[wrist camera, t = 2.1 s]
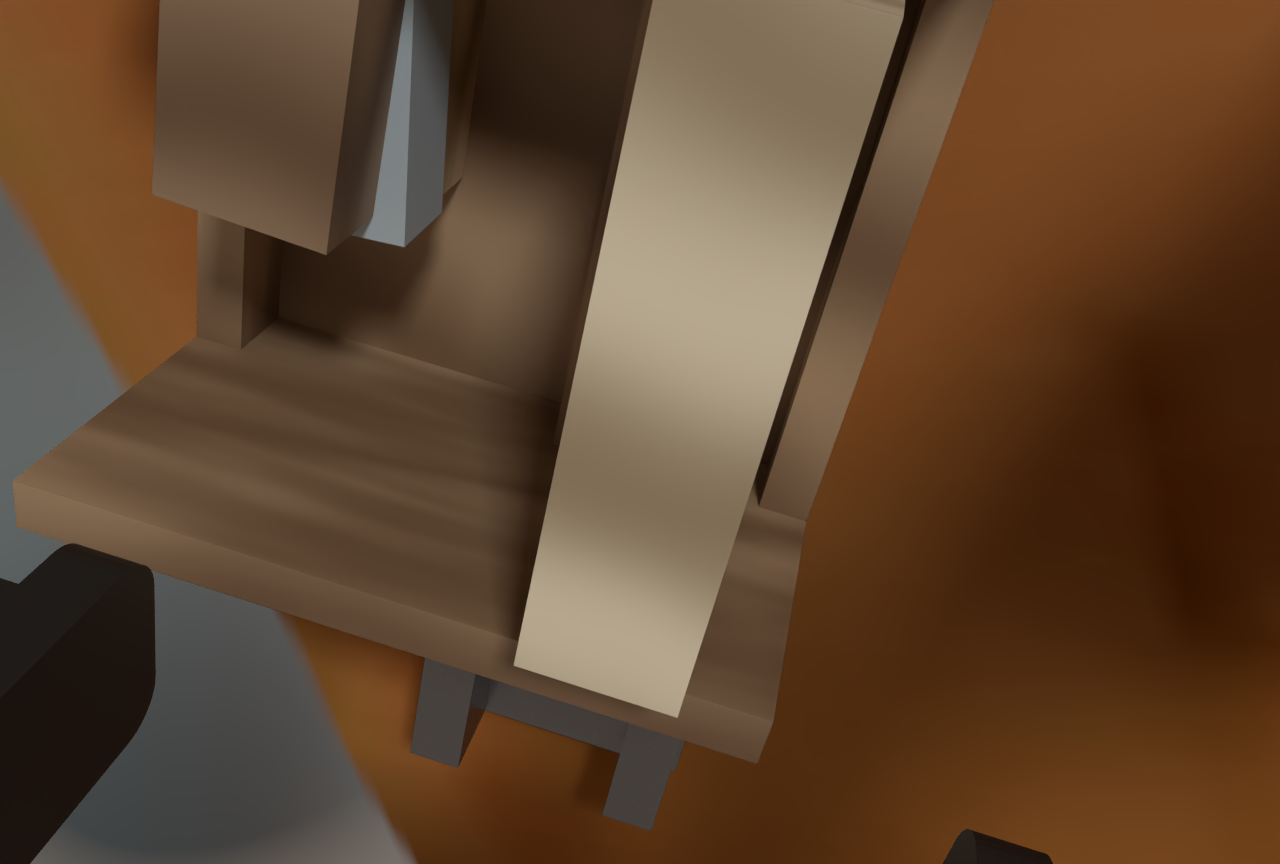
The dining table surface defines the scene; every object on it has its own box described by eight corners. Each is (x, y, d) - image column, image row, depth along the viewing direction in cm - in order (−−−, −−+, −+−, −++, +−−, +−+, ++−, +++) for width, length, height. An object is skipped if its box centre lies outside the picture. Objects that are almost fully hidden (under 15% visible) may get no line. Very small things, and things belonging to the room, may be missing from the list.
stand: (482, 444, 33) (437, 511, 30) (753, 527, 32) (736, 604, 29) (444, 672, 38) (402, 749, 35) (680, 748, 37) (659, 833, 34)
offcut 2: (269, -109, 24) (212, -98, 22) (457, -73, 23) (416, -58, 21) (275, 176, 27) (226, 207, 25) (441, 212, 26) (404, 246, 24)
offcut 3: (323, -135, 25) (274, -126, 23) (498, -87, 25) (463, -75, 23) (307, 132, 28) (262, 158, 26) (462, 177, 28) (429, 206, 26)
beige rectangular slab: (769, -124, 23) (663, -48, 14) (914, -86, 23) (904, 17, 14) (644, 382, 30) (513, 665, 20) (757, 415, 30) (677, 717, 20)
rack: (281, -398, 24) (-78, -485, 15) (1050, -204, 23) (1122, -183, 14) (253, 328, 33) (16, 527, 24) (803, 494, 32) (757, 764, 23)
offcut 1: (229, -101, 22) (163, -88, 20) (411, -41, 21) (361, -21, 20) (211, 161, 24) (151, 194, 22) (372, 216, 24) (325, 255, 22)
